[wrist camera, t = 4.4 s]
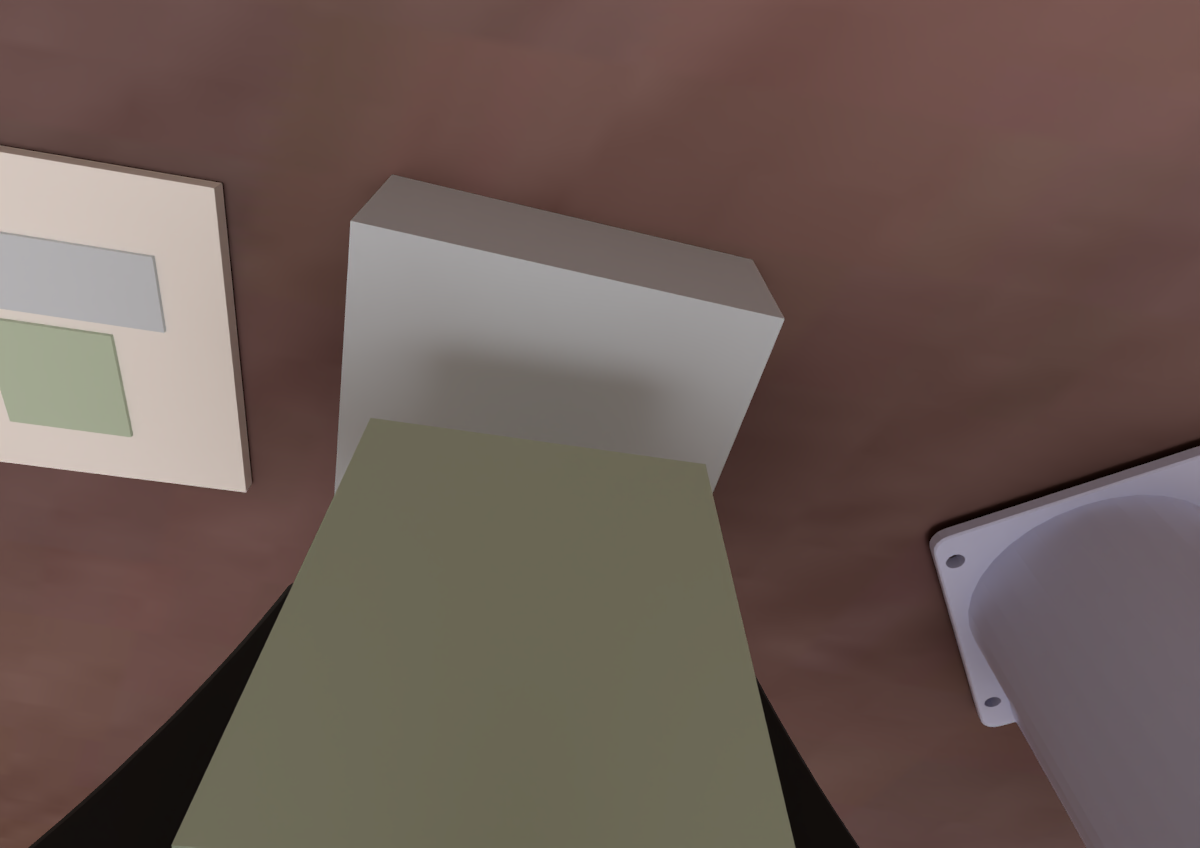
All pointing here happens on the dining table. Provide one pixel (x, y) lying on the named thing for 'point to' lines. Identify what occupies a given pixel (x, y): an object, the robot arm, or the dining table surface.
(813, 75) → the dining table surface
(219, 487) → the card
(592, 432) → the slate base
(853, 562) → the dining table surface
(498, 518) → the sage block
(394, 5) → the dining table surface
